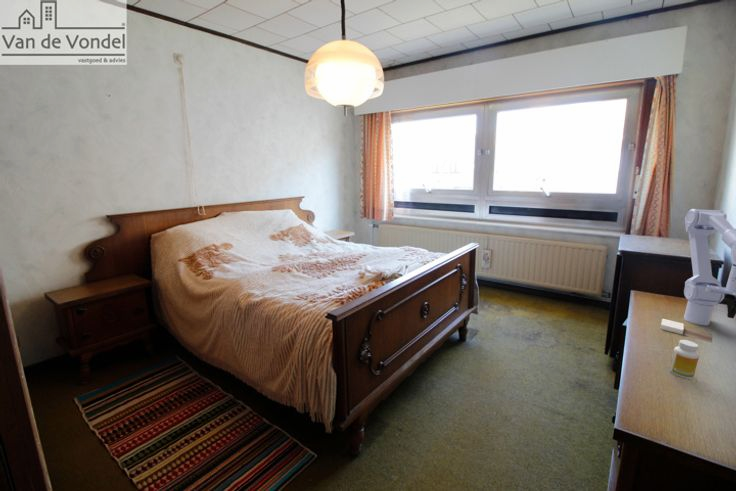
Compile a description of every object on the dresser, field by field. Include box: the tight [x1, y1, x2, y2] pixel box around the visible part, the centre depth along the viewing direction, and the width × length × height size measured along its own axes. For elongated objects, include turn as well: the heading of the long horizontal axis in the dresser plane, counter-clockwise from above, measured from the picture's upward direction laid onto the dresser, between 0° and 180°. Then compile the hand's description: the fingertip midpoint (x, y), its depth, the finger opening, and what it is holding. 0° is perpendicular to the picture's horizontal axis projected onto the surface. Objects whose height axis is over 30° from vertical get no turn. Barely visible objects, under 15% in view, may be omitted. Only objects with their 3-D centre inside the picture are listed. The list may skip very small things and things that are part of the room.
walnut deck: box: [684, 327, 713, 343], centre depth 122 cm, size 8×7×1 cm
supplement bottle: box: [668, 339, 700, 380], centre depth 100 cm, size 5×5×10 cm
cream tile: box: [660, 318, 685, 335], centre depth 127 cm, size 7×6×2 cm
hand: (730, 317), depth 118 cm, fingers closed
